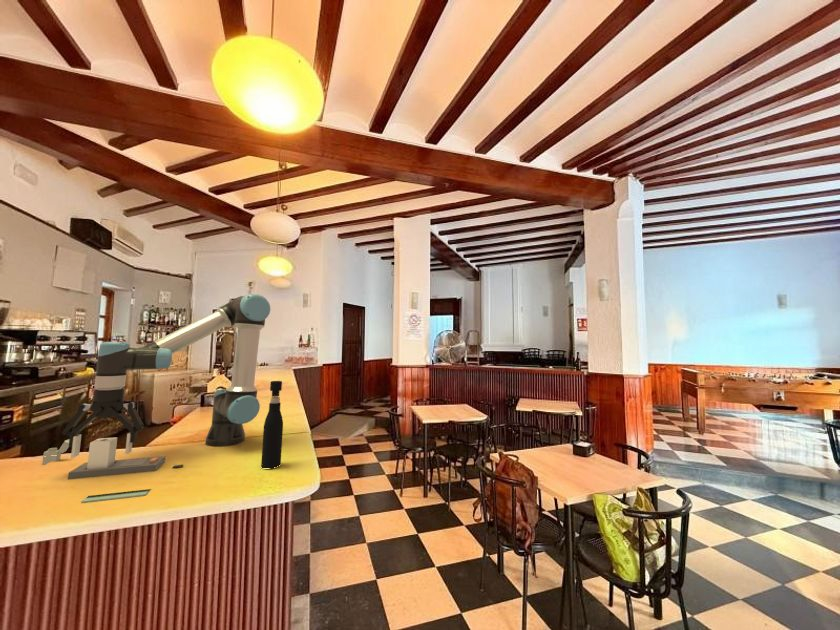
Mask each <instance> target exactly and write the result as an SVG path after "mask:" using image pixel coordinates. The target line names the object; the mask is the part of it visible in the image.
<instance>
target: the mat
mask: <svg viewBox="0 0 840 630" xmlns="http://www.w3.org/2000/svg"><path fill="white" fill-rule="evenodd" d="M151 490H152V488H149V489H140V490H137V489H136V490H130V491H128V490H127V491H120V492H112V493H104V494H93V495H87V496H86V498H84V499H83V500H82V501H80V503H81V504H86V503H93V502H102V501H110V500H111V501H112V500H120V499H128V498H129V499H130V498H137V497H145V496H147V495H148V494H149V492H150V491H151Z"/></svg>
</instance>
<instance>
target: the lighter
mask: <svg viewBox="0 0 840 630" xmlns="http://www.w3.org/2000/svg"><path fill="white" fill-rule="evenodd" d="M69 440H70V438H68V439H65V440H64V442H63V443H62V445H61V446H60V448H59V449H58V447H51V448H49V447H48V449H47V450H46V451H44V452H43V456H42V461H41V462H42V463H41V465H42V466H45V465H47V464H49V463H51V462H52V463H53V462H59V461H61V457H62V454H63V453H65V452H66V451H67V450H68V449H69ZM51 455H57V456H51ZM44 456H46V457H44Z"/></svg>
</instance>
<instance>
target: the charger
mask: <svg viewBox="0 0 840 630" xmlns="http://www.w3.org/2000/svg"><path fill="white" fill-rule="evenodd" d="M117 443H118V437H105V438H104V437H102V438H97V439H95V440H93V441H91V442H90V443H89V449H88V455H87V456H88V457H87V462H88V465H87V469H98V468H109V467H110V466H112V465H113V464H115V460H116V454H117V453H116V452H117V445H118V444H117Z"/></svg>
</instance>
